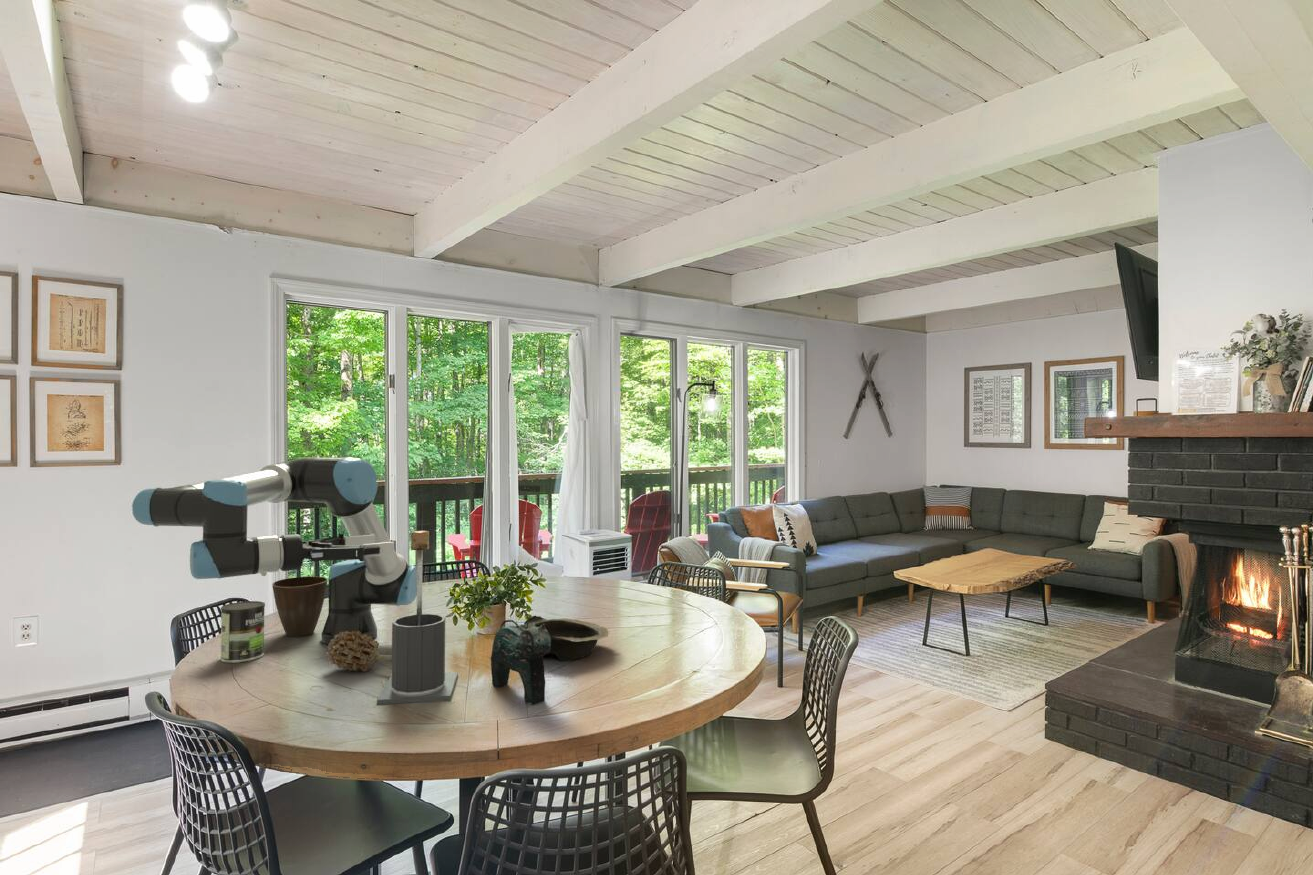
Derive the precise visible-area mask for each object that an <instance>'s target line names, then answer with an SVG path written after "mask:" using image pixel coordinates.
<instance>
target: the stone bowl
mask: <svg viewBox="0 0 1313 875" xmlns="http://www.w3.org/2000/svg"><path fill="white" fill-rule="evenodd" d="M534 622H535V626H536V627H540V626H541V625H542V624H545V629H546V630H547V631H548V633H549V635H550V638H551V648H550V651H549V652H548V653H546V654H544V655H543V657H544V656H547V655H552V654H555V655H556V656H557V658H558V659H559V660H560V661H565V662H571V661H573V660H580V659H582V658H584V657H586V656H587V655H591V654H592V653H593V651H594V649H595V648H596V646H597V643H598V640H601V639H604V638H607V637H608V636H609V633H610V632H609V630H608V628H606V627H605V626H600V624H597V623H595V622H594V623H593V622H588V621H584V620H579V619H571V618H551V619H546V618H543V617H542V616H538V615H533V616H531V617H529V616H528V628H531V626H532V624H533V623H534ZM518 625H519V624H518ZM519 626H521V627H524V628H525V629H526V628H527V619H526V620H525V621H524V624H520V625H519Z"/></svg>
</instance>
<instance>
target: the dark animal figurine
mask: <svg viewBox="0 0 1313 875" xmlns="http://www.w3.org/2000/svg"><path fill="white" fill-rule="evenodd" d="M523 613H524V614H525V615H526V620H527V628H526V629H525V628H524V627H521V626H519V624H518V623H517V622H516V621H515V620H512V619H506V620H504V621H503V622H502V623H501V624H500V627H499V629H498V630H497V631H496V633H495V636H494V638H493V642H492V649H491V655H490V666H491V667H490V670H491V671H490V672H491V681H492V682H491V683H492V685H493V686H494V687H496V688H498V689H500V688H503V687H507V686H508V683H509V680H510V673H511V671H513V672H516V673H518V675H519V676H520V680H521V682H522V684H523V691H524V692H523V693H524V696H523V698H524V699H523V700H524V702H525V703H529V704H530V705H532V706H533V705H537V704H540V703H543V702H545V698H546V695H545V694H546V678H545V676H546V675H545V673H546V672H545V664H544V656H543V655H544V654H546V653H548V652H549V651H550V648H551V638H550V635H549V633H548V631H547V630H546V629H545V624H542V625H541V626H540V627H536V626H535V622H534V623H533V624H532V626H531V628H528V618H529V614H528V613H527V611H526V610H521V611H520V613H519V616H521V615H522V614H523ZM506 623H513V624H514V625H508V626H504V625H505V624H506ZM503 626H504V627H503Z"/></svg>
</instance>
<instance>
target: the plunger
mask: <svg viewBox="0 0 1313 875" xmlns="http://www.w3.org/2000/svg"><path fill="white" fill-rule="evenodd" d="M429 544H430V531H429V530H415V531H411V532H410V550H411V551H416V566H417V596H416V614H417V625H416V626H422V614H423V556H424V555H423V552H424V551H425V550H429V549H430V545H429Z"/></svg>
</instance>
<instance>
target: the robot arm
mask: <svg viewBox="0 0 1313 875" xmlns="http://www.w3.org/2000/svg"><path fill="white" fill-rule="evenodd" d="M377 481H378V476H377V472H376V470H375V468H374V467H373V465H372V464H371V463H370V462H369V461H367V460H366V459H362V458H356V457H351V456H349V457H348V456H346V457H313V456H310V457H301V458H300V457H299V458H297V459H291V460H287V461H283V462H282V461H281V462H278V463H274V464H268V465H265V466H264V467H262V468H261V469H260V470H259V471H253V472H249V473H248V472H247V473H243V474H237V475H231V476H226V477H221V478H217V479H213V480H212V479H211V480H205V481H201V482H196V483H191V484H186V485H180V486H174V487H169V488H165V487H163V488H162V487H154V488H146V489H142V490H141V491H140V492H139V493H137V495H135V497H134V498H133V501H132V504H131V508H132V509H131V510H132V515H133V517H134V519H135V520H136V521H137V522H138V523H139V524H141V525H146V526H154V527H159V526H160V527H198V528H199V527H200V528H202V540H198V541H194V542H191V545H190V550H189V552H190V553H189V570H190V574H191V576H192V578H194V579H196V580H207V579H219V580H220V579H223V578H230V577H231V578H233V577H240V576H248V575H257V574H260V575H261V576H263V577H265V576H267V573H276V572H278V571H279V570H280V571H281V572H287V571H298V570H300V569H301V568H302V566H303V563H304V562H303V561H304V560H305V559H307V560H310V561H311V562H314V563H315V562H320V561H339V562H336V563H334V564H332V565H331V566H330V568H329V571H328V572H329V573H328V578H327V582H328V614H327V618H326V620H325V624H324V626H323V629H322V632H321V643H323V644H326V645H329V644H330V643H331V641H330V640H332V639H334V636H335V635H339V633H340V632H345V631H348V632H352V631H356V632H358V631H360V632H361V634H362V635H364V634H366V635H367V636H371V637H372V639H373V640H375V638H377V636H378V627H377V623H376V620H375V617H374V616H373V612H372V605H381V606H384V605H385V606H396V607H397V606H398V607H400V606H409V605H411V604H412V603H413V602H414V601H415V600H416V599H417V565H414V564H411V565H410V564H408V563H407V560H406V558H405V557H404V556H403V555H402V554H400V553H398V552H396V550H395V542H394V541H391V540H390V537H389V535H388V533H387V531H386V529H385V527H384V525H383V522H382V520H381V518H380V516H379V514H378V512H377V511H376V508H375V506H374V504H373V502H374V501H375V497H376V495H377V492H378V485H379V483H378V482H377ZM266 502H267V503H271V504H277V503H281V502H283V503H284V502H301V503H317V504H318V503H323V504H325V505H326V507H327V509H328V510H329V512H330V514H331V515H333V516H334V517H337V518H340V520H341V521H342V523H343V525H344V527H345V528H346V529H345V530H346V531H347V532H348V535H349V536H345V534H344V533H339V534H338V536H337V535H334V536H331V537H330V536H329V537H324V538H323V537H322V538H319V539H318V538H317V539H310V540H303V538H302V536H301V535H300V534H297V533H295V534H282V535H280V536H277V535H276V534H275V535H265V536H255V537H254V536H253V537H248V534H247V533H248V507H251V506H254V505H258V504H262V503H266Z"/></svg>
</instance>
